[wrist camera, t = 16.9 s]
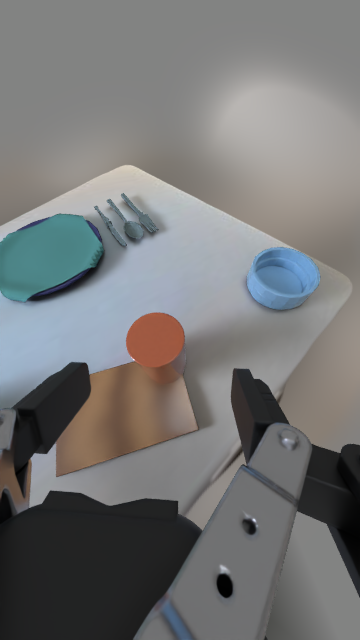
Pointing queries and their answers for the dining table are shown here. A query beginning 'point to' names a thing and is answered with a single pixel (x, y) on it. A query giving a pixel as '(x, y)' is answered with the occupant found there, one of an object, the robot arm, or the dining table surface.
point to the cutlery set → (56, 252)
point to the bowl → (282, 278)
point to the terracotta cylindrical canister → (158, 347)
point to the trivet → (123, 418)
